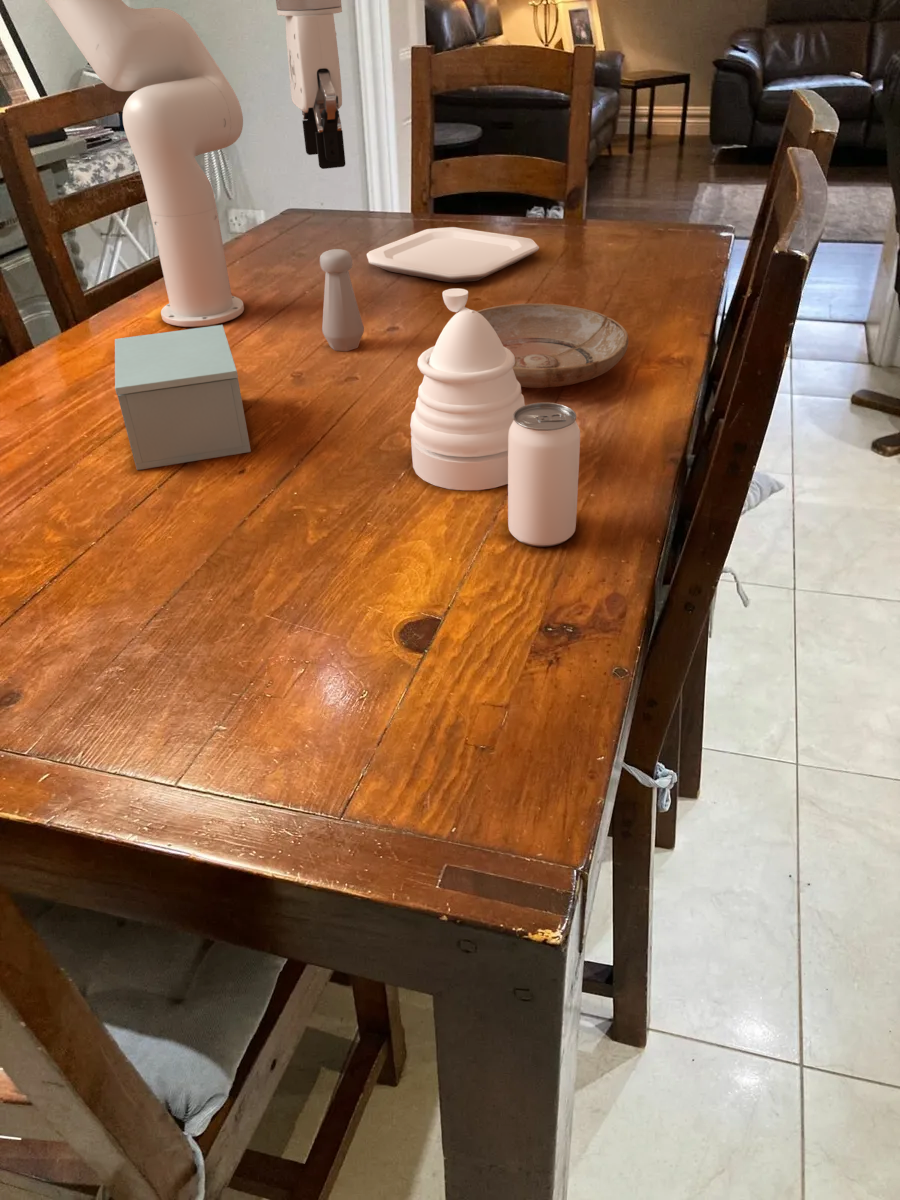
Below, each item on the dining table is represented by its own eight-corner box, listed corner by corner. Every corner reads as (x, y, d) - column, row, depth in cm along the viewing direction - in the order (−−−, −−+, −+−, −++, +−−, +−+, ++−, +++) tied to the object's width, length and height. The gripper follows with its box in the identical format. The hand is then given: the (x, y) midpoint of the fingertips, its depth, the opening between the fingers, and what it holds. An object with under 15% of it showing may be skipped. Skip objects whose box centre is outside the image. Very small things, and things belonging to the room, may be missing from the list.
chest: (251, 452, 106) (237, 378, 101) (136, 470, 103) (117, 395, 98) (236, 399, 118) (224, 331, 113) (133, 414, 116) (116, 345, 110)
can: (504, 516, 92) (503, 402, 85) (568, 511, 93) (573, 398, 86) (513, 551, 87) (513, 433, 80) (581, 546, 87) (588, 428, 80)
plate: (438, 236, 178) (437, 224, 176) (550, 253, 165) (550, 240, 164) (353, 270, 162) (352, 257, 160) (470, 292, 149) (470, 278, 148)
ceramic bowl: (464, 414, 112) (463, 375, 109) (436, 345, 131) (434, 310, 128) (650, 396, 114) (654, 356, 112) (596, 330, 133) (598, 295, 130)
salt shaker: (358, 354, 129) (349, 258, 122) (319, 352, 130) (307, 257, 123) (369, 339, 134) (361, 245, 126) (331, 337, 135) (321, 245, 127)
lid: (238, 377, 100) (236, 370, 100) (116, 395, 97) (114, 388, 97) (223, 331, 113) (222, 324, 113) (116, 345, 110) (114, 338, 110)
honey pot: (390, 458, 103) (376, 296, 93) (481, 425, 109) (478, 269, 99) (459, 503, 95) (453, 329, 84) (554, 464, 101) (560, 298, 90)
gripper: (266, -3, 114) (285, 151, 124) (287, 4, 100) (307, 176, 110) (326, -7, 116) (341, 146, 126) (355, 0, 102) (369, 170, 112)
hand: (325, 160), depth 118 cm, fingers open, 9 cm apart
